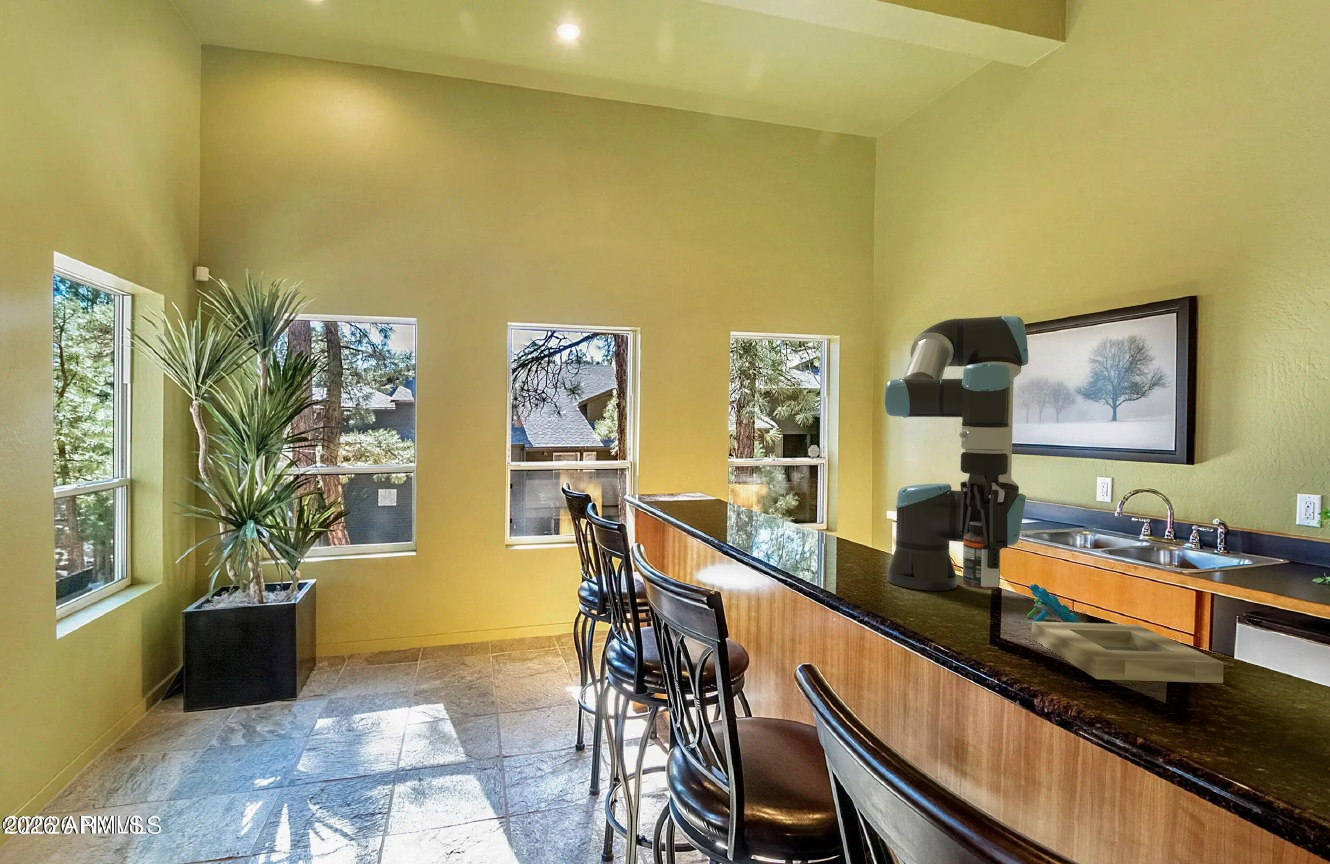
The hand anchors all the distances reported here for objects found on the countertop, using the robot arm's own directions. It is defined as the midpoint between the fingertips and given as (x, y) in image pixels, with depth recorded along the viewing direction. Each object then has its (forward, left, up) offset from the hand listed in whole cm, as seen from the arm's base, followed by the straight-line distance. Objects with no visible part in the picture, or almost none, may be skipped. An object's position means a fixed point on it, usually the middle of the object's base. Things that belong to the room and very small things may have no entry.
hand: (981, 581), depth 116 cm
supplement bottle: (0, 0, -1) cm, 1 cm away
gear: (-7, +16, -10) cm, 20 cm away
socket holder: (+11, +17, -9) cm, 22 cm away
